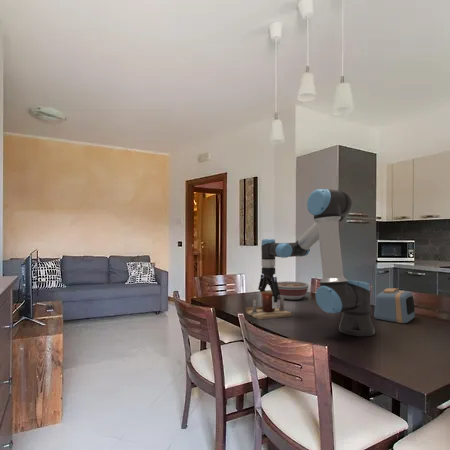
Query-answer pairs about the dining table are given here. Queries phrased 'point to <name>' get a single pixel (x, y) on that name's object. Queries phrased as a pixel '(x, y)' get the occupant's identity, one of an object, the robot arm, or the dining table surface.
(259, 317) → the caddy
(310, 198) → the robot arm
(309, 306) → the dining table surface
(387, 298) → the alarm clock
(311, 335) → the dining table surface
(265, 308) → the mug
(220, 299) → the dining table surface
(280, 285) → the bowl
